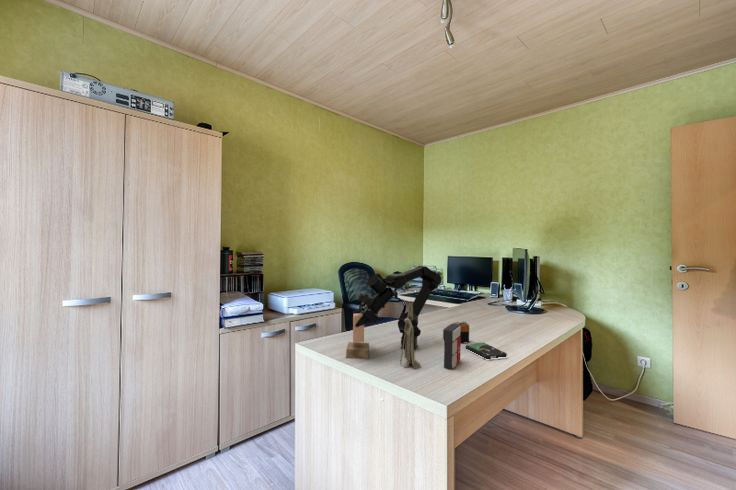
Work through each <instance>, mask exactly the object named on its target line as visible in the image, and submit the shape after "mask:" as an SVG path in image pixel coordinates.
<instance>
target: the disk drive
mask: <svg viewBox="0 0 736 490" xmlns="http://www.w3.org/2000/svg"><path fill="white" fill-rule="evenodd" d="M466 349H468V350H470V351H472V352H474V353H476V354H478V355H480V356H482V357H484V358H486V359H491V358H498V357H506V356H508V355H507V352H505V351H502V350H501V349H499V348H496V347H495V346H492V345H489V344H488V343H485V342H476V343H475V342H474V343H470V344H469V343H466V344H465V350H466ZM468 350H467V351H468ZM470 351H469V352H470ZM472 352H471V353H472ZM474 353H473V354H474ZM476 354H475V355H476ZM478 355H477V356H478Z"/></svg>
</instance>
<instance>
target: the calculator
mask: <svg viewBox="0 0 736 490" xmlns="http://www.w3.org/2000/svg"><path fill="white" fill-rule="evenodd" d="M460 329H461V326H460V325H458V324H453V323H450V324H449V325H447V326H446V327H445V328H443V329H442V339H443V340H444V350H443V351H444V352H443V355H444V356H443V368H444V369H448V370H453V369H454V368H455V367H456V366H457V365H458V363H460V361H461V346H462V345H461V344H462V343H461V336H460Z"/></svg>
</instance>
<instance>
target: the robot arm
mask: <svg viewBox="0 0 736 490" xmlns="http://www.w3.org/2000/svg"><path fill="white" fill-rule="evenodd" d="M417 278H421V279H422V280H421V288H420V289H419V292H418V293H417V295H416V297H415V299H414V301H412V305H413V320H412V321H411V323H412V326H413V330H414V351H416V349H417V348H418V347H419V345H418V337H419V336H421V334H422V333H421V332H422V331H421V329H420V328H419V327H418V324H419V316H420V314H421V312H422V310H423V308H424V306H425V304H426V303H427V301H428V299H429V297H430V295H431V293H432V292H433V291H434V290H436V289H437V288H438V287H439V286H440V284H441V283H442V276H441V274H440V273H437V272H436V271H434V270H432V269H431V268H429V267H428V266H425V265H418V266H417V267H415V268H414V267H413V268H411V269H409V270H407V271H404V272H402V273H393V274H388V275H386V277H385V278H384V277H382V275H381V274H380V273H377V272H376V273H375V274H374V275H372V276H371V277H369V278H368V280H366V281H367V282H366V285H367V286H368V287H369V288H370V289H371V290H372V291H373V292H374V293H375V295H374V294H373V295H372V296H371V295H369V294H368V293H365V292H362V291H360V292H359V294H358V296H357V297H356V299H357V301H359V302H362V303H361V306H360V307H361V309H360V310H361V311H360V313H362V316H361V318H360V319H359V320H358V322H357V323H356V325H355V326H356V327H359V326H362V325H364V326H365V325H366V324H370V323H374V324H376V323H377V322H378V321H379V316H378V314H379V312H380V311H381V310H382V309H384V308H386V305H387V304H388V303H389V302H390V301H391V300H392V299H393V298H395V299H396V300H399V299H398V298H399V296H398V295H399V292H397V290H400V289H402V288H403V287H405V286H406V284H407V283H408V282H411V281H413V280H415V279H417ZM393 289H395V290H393ZM409 313H410V312H409ZM407 317H408V311H407V312H403V311H402V313H400V317H399V318H398V321H397V328H398V330H399V333H400V334H402V335H401V337H400V349H402V348H403V342H404V335H405V332H404V329H405V325H406V324H405V321H404V320H405V319H406V318H407ZM408 318H409V319H410V320H411V318H410V317H408ZM405 343H406V336H405V342H404V348H403V350H405Z"/></svg>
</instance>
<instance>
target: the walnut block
mask: <svg viewBox="0 0 736 490" xmlns="http://www.w3.org/2000/svg"><path fill="white" fill-rule="evenodd" d="M345 351H346V353H345V354H346V357H345V358H346V359H359V360H361V359H362V360H369V354H370V353H369V352H370V342H353V341H349V342H348V344H347V346H346V349H345Z"/></svg>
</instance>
